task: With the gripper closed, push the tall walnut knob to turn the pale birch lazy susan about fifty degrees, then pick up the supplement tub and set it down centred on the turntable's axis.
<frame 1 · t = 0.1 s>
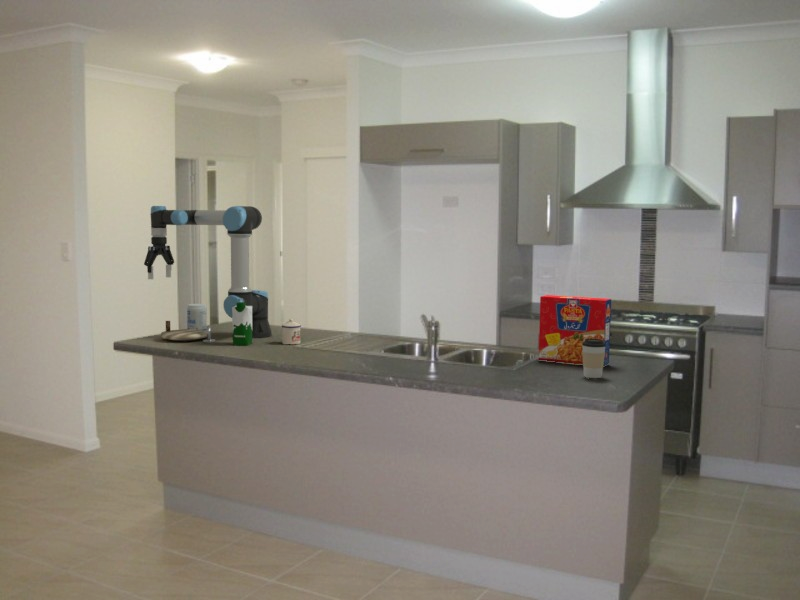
hand: (159, 278, 415), 28 cm above the countertop, fingers open, 13 cm apart
supplement tub: (197, 333, 418), on the countertop
lazy susan platter: (184, 329, 396), point 5 cm above the countertop, hinge at 0.0°
teacup with lid: (293, 343, 390), on the countertop
pasta box: (573, 363, 345), on the countertop
dial pointer stand: (207, 341, 391), on the countertop
turntable base: (184, 339, 397), on the countertop
coffee cup: (592, 377, 316), on the countertop
milk carton: (242, 344, 385), on the countertop
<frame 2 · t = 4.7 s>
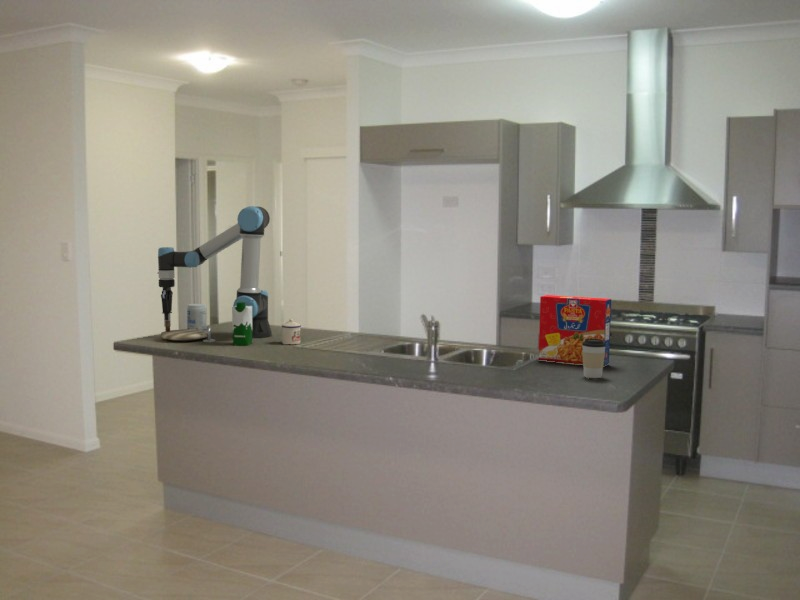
hand: (167, 326, 402), 5 cm above the countertop, fingers closed
lazy susan platter: (184, 329, 396), point 5 cm above the countertop, hinge at 1.1°, touching gripper
everything else where it was.
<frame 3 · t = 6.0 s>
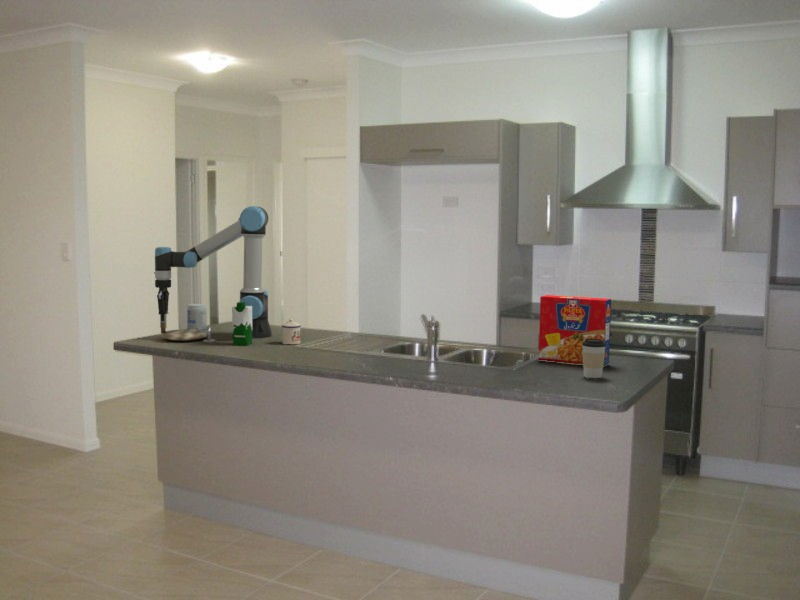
hand: (163, 327, 396), 6 cm above the countertop, fingers closed
lazy susan platter: (184, 329, 396), point 5 cm above the countertop, hinge at 33.5°, touching gripper
everything else where it was.
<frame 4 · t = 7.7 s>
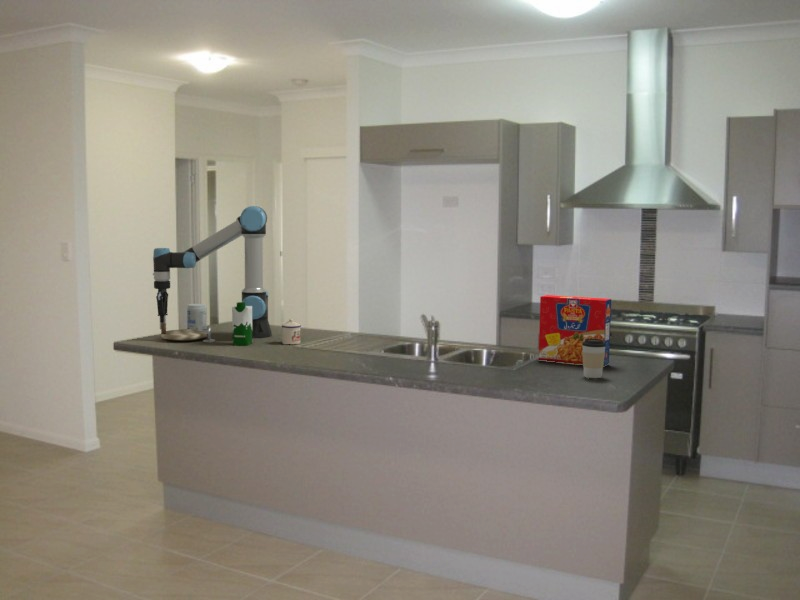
hand: (163, 329, 393), 5 cm above the countertop, fingers closed
lazy susan platter: (184, 329, 396), point 5 cm above the countertop, hinge at 52.5°, touching gripper
everything else where it was.
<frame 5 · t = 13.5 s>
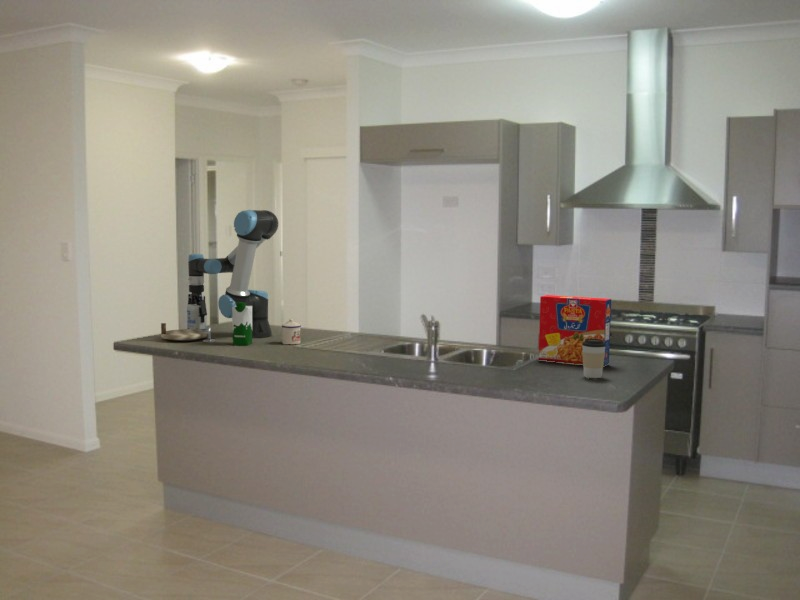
hand: (197, 327, 418), 3 cm above the countertop, fingers closed on supplement tub, 10 cm apart
supplement tub: (197, 333, 418), on the countertop, touching gripper
lazy susan platter: (184, 329, 396), point 5 cm above the countertop, hinge at 52.5°
everything else where it was.
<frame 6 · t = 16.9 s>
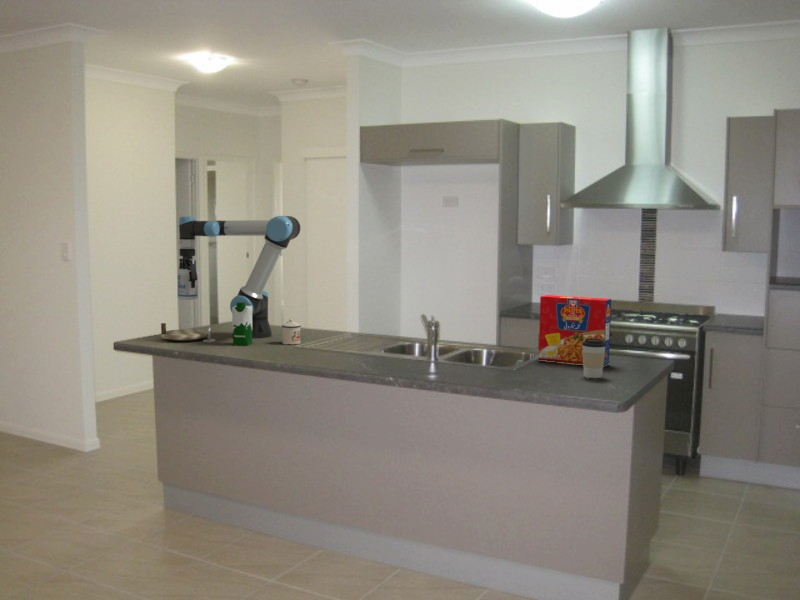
hand: (187, 293, 402), 22 cm above the countertop, fingers closed on supplement tub, 10 cm apart
supplement tub: (188, 299, 402), point 19 cm above the countertop, touching gripper
everything else where it was.
when the fingers open (8 cm above the countertop, at t = 20.5 s): supplement tub drops 2 cm, resting on lazy susan platter.
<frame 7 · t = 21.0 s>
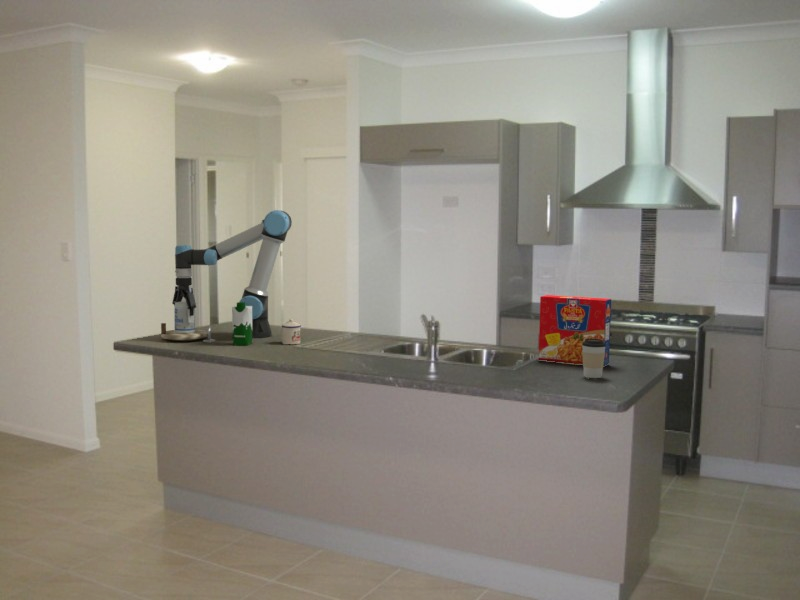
hand: (184, 320, 396), 9 cm above the countertop, fingers open, 13 cm apart
supplement tub: (184, 333, 396), point 3 cm above the countertop, touching lazy susan platter
lazy susan platter: (184, 329, 396), point 5 cm above the countertop, hinge at 52.5°, touching supplement tub
everything else where it was.
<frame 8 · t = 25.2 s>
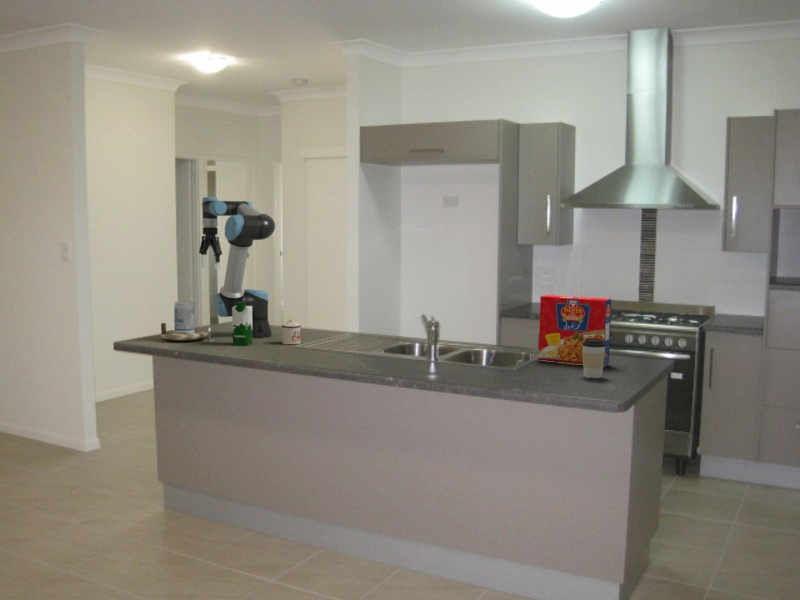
hand: (210, 267, 426), 33 cm above the countertop, fingers open, 13 cm apart
nothing on the countertop moved.
at the end: lazy susan platter at +52° (first picture: +0°); supplement tub 0.4 cm off-centre on the lazy susan platter, point 3.2 cm above the lazy susan platter's base; supplement tub tilted 0° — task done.
